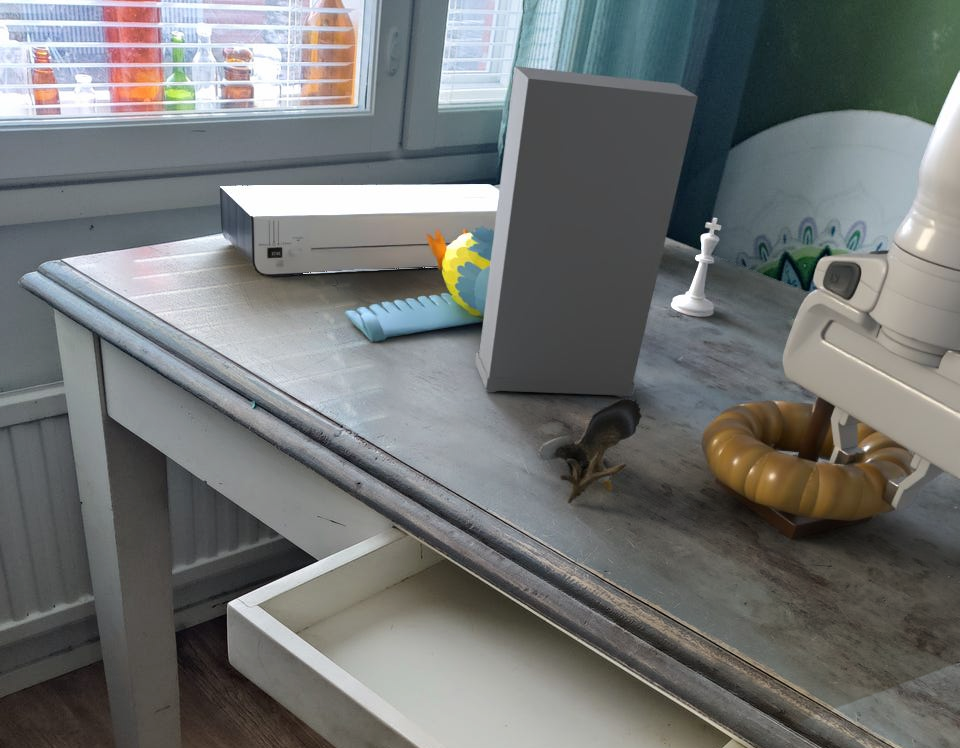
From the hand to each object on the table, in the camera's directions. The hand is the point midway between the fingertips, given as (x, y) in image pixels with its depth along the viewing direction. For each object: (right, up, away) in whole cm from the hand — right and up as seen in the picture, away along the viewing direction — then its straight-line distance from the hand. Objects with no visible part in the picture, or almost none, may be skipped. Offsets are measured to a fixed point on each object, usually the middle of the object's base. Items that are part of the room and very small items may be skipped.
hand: (867, 486), depth 73 cm
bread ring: (-3, +3, +4) cm, 6 cm away
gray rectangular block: (-22, +13, +20) cm, 32 cm away
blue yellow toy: (-28, +22, +30) cm, 47 cm away
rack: (-3, 0, +7) cm, 7 cm away
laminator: (-40, +33, +42) cm, 67 cm away
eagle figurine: (-20, +1, +5) cm, 21 cm away
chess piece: (-4, +27, +41) cm, 49 cm away
